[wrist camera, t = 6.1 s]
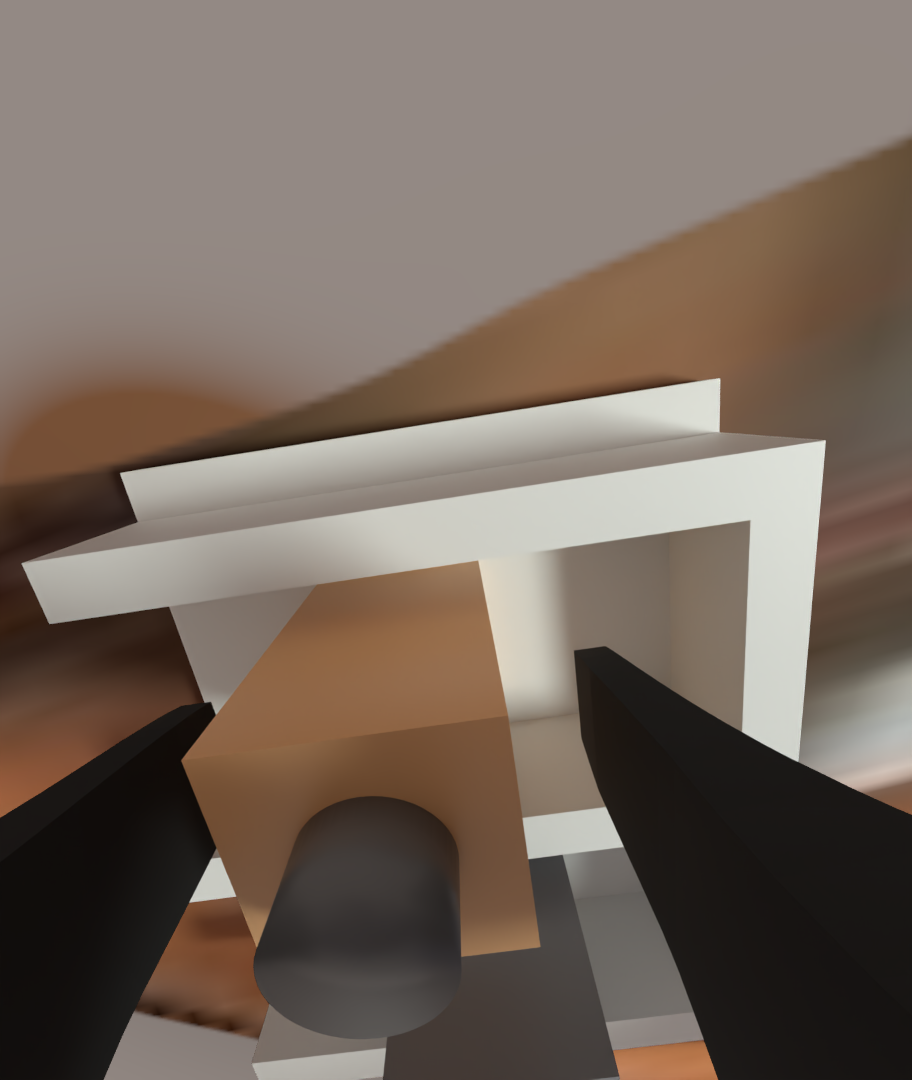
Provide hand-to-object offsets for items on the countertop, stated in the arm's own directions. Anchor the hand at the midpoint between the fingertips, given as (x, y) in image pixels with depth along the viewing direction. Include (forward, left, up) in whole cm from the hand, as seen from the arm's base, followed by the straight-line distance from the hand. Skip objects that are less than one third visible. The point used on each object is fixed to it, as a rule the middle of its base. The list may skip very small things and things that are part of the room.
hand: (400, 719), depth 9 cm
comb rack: (-4, -1, -4) cm, 5 cm away
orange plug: (0, 0, -3) cm, 3 cm away
